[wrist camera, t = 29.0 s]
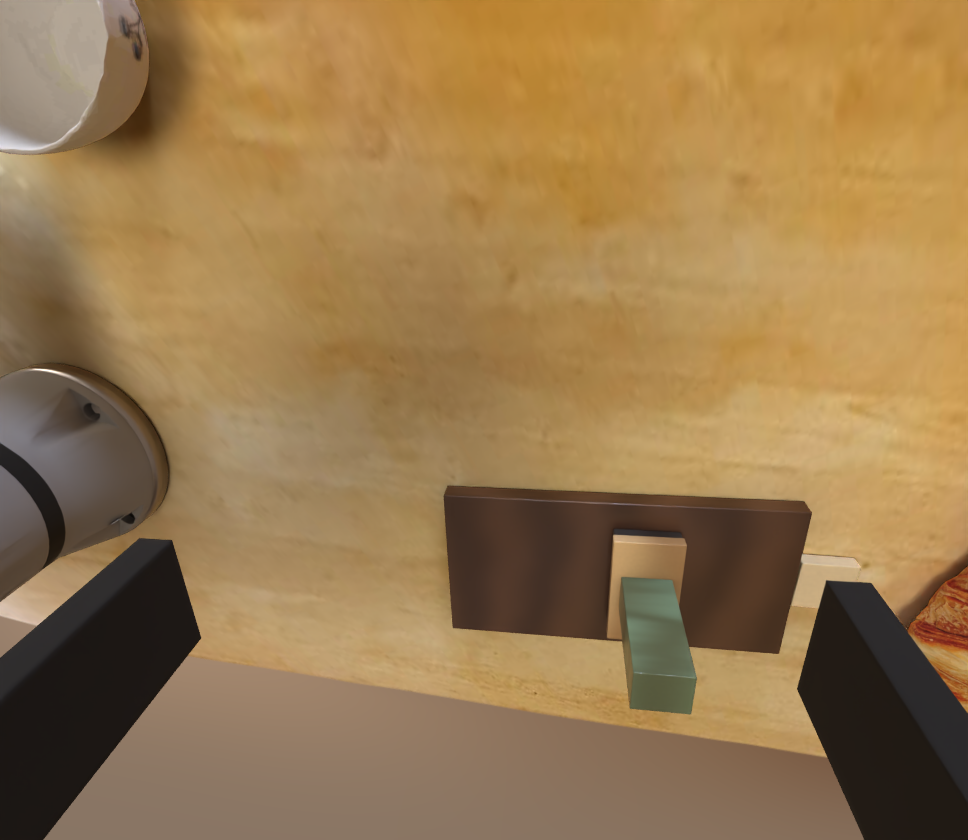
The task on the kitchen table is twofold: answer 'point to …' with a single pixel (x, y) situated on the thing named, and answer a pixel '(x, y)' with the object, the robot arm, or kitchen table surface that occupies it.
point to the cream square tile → (821, 577)
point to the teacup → (68, 72)
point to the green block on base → (651, 619)
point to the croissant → (947, 634)
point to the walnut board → (587, 562)
